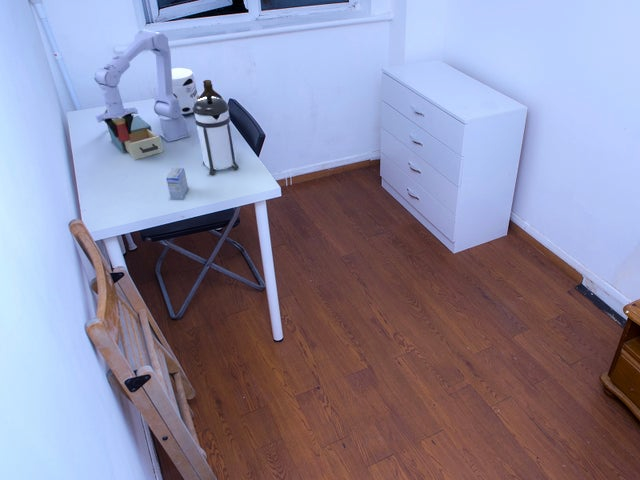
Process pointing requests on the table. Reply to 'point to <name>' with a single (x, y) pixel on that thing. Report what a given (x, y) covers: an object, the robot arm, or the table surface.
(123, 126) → the tea tin
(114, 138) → the cabinet
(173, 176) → the medicine box
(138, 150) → the drawer
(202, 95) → the olive oil
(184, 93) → the milk container
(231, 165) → the coffee press
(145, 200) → the table surface
